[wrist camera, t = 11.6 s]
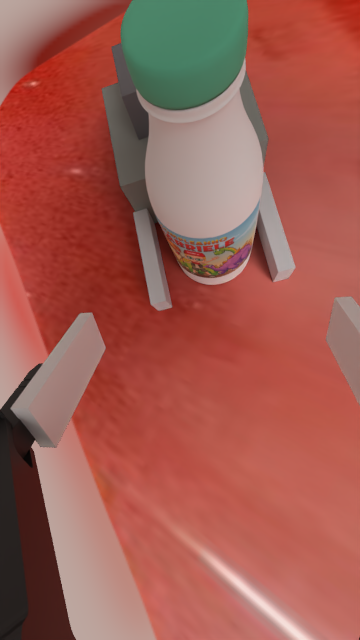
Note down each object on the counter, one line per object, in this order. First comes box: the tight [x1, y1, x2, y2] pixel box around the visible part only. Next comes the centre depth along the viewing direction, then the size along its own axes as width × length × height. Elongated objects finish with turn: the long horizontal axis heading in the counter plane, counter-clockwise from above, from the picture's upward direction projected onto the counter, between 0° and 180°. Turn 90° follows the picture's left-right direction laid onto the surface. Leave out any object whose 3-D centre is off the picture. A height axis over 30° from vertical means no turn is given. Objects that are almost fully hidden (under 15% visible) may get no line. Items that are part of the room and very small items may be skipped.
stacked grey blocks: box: [102, 43, 295, 311], centre depth 24 cm, size 14×21×11 cm, turn 12°
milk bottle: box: [121, 0, 263, 285], centre depth 19 cm, size 8×8×20 cm
